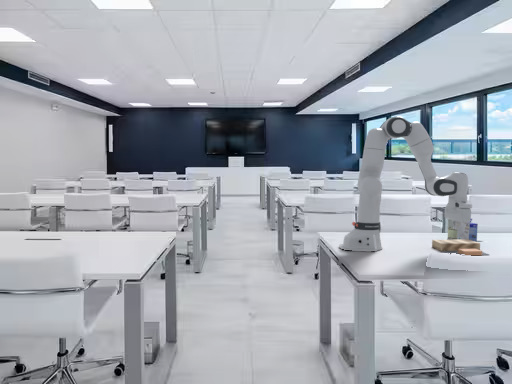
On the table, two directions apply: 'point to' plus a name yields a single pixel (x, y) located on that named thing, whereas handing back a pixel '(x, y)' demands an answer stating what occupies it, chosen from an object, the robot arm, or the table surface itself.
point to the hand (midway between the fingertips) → (455, 229)
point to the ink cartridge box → (467, 231)
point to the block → (470, 251)
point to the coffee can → (451, 231)
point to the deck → (455, 244)
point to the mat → (458, 253)
